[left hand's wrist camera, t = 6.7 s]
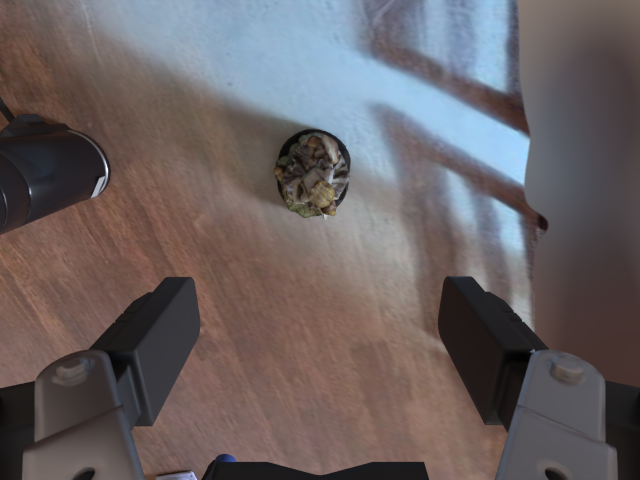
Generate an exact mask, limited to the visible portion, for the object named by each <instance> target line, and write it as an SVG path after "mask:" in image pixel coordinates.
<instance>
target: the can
mask: <svg viewBox="0 0 640 480" xmlns="http://www.w3.org/2000/svg"><path fill="white" fill-rule="evenodd" d="M215 460H216V461H217V462H236V460H235V458H234V457H233V456H231V455H228V454H221V455H219V456H217V457H216V459H215Z"/></svg>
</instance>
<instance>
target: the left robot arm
mask: <svg viewBox="0 0 640 480" xmlns="http://www.w3.org/2000/svg"><path fill="white" fill-rule="evenodd" d="M0 111H1V112H2V113H3V115H4V116H5V117H6V119H7V120H8V121H9V123H10V124H9V125H7V126H6V127H5V128H4V129H3V130H1V131H0V235H2V234H4V233H7V232H9V231H11V230H14V229H16V228H19V227H21V226H23V225H26V224H28V223H31V222H33V221H35V220H38V219H40V218H43V217H45V216H47V215H50V214H52V213H55V212H57V211H60V210H62V209H64V208H67V207H69V206H72V205H74V204H76V203H79V202H81V201H84V200H87V199H90V198H93V197H95V196H97V195H99V194H100V193H102V192H103V191H104V190H105V189H106V187H107V185H108V183H109V180H110V165H109V161H108V159H107V156H106V154H105V153H104V151H103V150H102V148H101V147H100V146H99V145H98V144H97V143H96V142H95V141H94V140H93V139H92V138H90V137H89V136H87V135H85V134H83V133H81V132H78V131H75V130H71V129H70V128H69V127H68V126H67V125H66V124H52V125H47V124H46V123H45V122H44V121H43V120H42V119H41V118H40V117H39V116H38V115H37V114H26V115H18V116H17V117H16V118H15V117H14V116H13V115H12V113H11V112H10V111H9V109H8V108H7V107H6V105H5V104H4V102H3V101H2V99H1V98H0ZM115 321H116V322H115V323H113V324H112V325H111V326H110V327H109V328H108V329H107V330H106V331H105V332H104V333H103V334H102V335H101V336H100V338H99V339H98V340H97V341H96V342H95V343H94V344H93V345H92V346H91V347H90V348H89V349H88V350H83V351H78V352H75V353H71V354H69V355H66V356H64V357H62V358H60V359H58V360H56V361H54V362H53V363H51V364H50V365H48V366H47V367H46V368H45V369H43V370H42V372H41V373H40V374H39V375H38V376H37V378H36V380H35V381H33V382H28V383H23V384H18V385H14V386H9V387H4V388H0V480H145V476H144V473H143V469H142V466H141V463H140V459H139V456H138V452H137V449H136V445H135V442H134V439H133V435H132V432H131V431H132V429H133V427H134V426H153V424H154V422H155V420H156V418H157V416H158V414H159V412H160V410H161V408H162V406H163V404H164V402H165V400H166V399H167V397H168V395H169V393H170V391H171V389H172V387H173V385H174V383H175V381H176V379H177V377H178V375H179V373H180V371H181V370H182V368H183V366H184V364H185V362H186V360H187V358H188V356H189V354H190V352H191V350H192V348H193V346H194V344H195V343H196V341H197V338H198V336H199V331H200V315H199V308H198V302H197V295H196V288H195V283H194V280H193V278H192V277H166V278H165V279H164V280H163V281H162V282H161V283H160V284H159V286H158V287H157V288H156V289H155V290H154V291H153V292H148V293H147V294H145V295H143V296H142V297H140V298H138V299H136V300H135V301H133V302H132V303H131V304H130V305H129V307H128V308H127V309H126V310H125V311H124V314H121V315H120V316H119V317H118V318H117V319H116V320H115ZM438 330H439V334H440V337H441V340H442V342H443V344H444V345H445V347H446V349H447V351H448V353H449V355H450V357H451V359H452V361H453V363H454V365H455V367H456V369H457V371H458V373H459V375H460V377H461V379H462V381H463V383H464V385H465V387H466V388H467V390H468V392H469V394H470V396H471V398H472V400H473V402H474V404H475V406H476V408H477V410H478V412H479V414H480V416H481V418H482V420H483V422H484V424H485V425H503V426H504V427H505V429H506V431H507V433H508V435H507V439H506V442H505V445H504V449H503V452H502V456H501V459H500V463H499V466H498V469H497V473H496V476H495V480H640V388H638V387H633V386H629V385H624V384H619V383H615V382H610V381H605V380H604V378H603V376H602V375H601V374H600V373H599V372H598V371H597V369H595V368H594V367H593V366H592V365H590V364H589V363H587V362H586V361H584V360H582V359H580V358H578V357H576V356H574V355H571V354H569V353H565V352H562V351H557V350H550V349H549V348H548V347H547V346H546V345H545V344H544V343H543V342H542V341H541V340H540V339H539V338H538V336H537V335H536V334H535V333H534V332H533V331H532V330H531V329H530V328H529V327H528V326H527V325H526V324H525V322H522V319H521V318H520V317H519V316H518V315H517V314H516V313H514V311H513V309H512V308H511V307H510V306H509V305H508V304H507V303H506V302H505V301H504V300H502V299H501V298H499V297H497V296H496V295H494V294H492V293H491V292H485V291H484V290H483V289H482V288H481V286H480V285H479V284H478V283H477V282H476V281H475V279H474V278H473V277H470V276H447V277H446V278H445V280H444V283H443V289H442V295H441V302H440V309H439V316H438ZM211 480H429V478H428V474H427V471H426V467H425V464H424V462H371V463H367V464H363V465H360V466H356V467H352V468H348V469H345V470H341V471H337V472H333V473H330V474H326V475H314V474H310V473H307V472H303V471H299V470H295V469H292V468H288V467H284V466H280V465H277V464H273V463H269V462H216V464H215V467H214V471H213V474H212V478H211Z"/></svg>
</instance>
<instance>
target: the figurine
mask: <svg viewBox="0 0 640 480" xmlns="http://www.w3.org/2000/svg"><path fill="white" fill-rule="evenodd" d="M349 174H350V156H349V153H348V151H347V149H346V146H345V145H344V144H343V143H342V142H341V141H340V140H339V139H338V138H337V137H335V136H334V135H332V134H330V133H328V132H326V131H322V130H316V129H308V130H304V131H301V132H299V133H297V134H295V135H294V136H292V137H291V138H289V139H288V140H287V141H286V143H285V144H284V145H283V147H282V149H281V151H280V154H279V159H278V161H277V162H276V168H275V169H274V175H275V176H276V179H277V183H278V190H279V193H280V195H281V197H282V199H283V200H284V202H285V203H286V204H287V206H288V209H289V210H290V211H294V212H296V213H298V214H299V215H301V216H302V217H303V218H309V217H310V216H320V215H322V216H323V218H324V220H326V219H327V215H332V216H334V215H336V208H337V206H338V205H339V204H340V203H341V202H342V200H343V199H344V197H345V195H346V192H347V190H348V181H349Z"/></svg>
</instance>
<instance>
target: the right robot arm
mask: <svg viewBox="0 0 640 480" xmlns="http://www.w3.org/2000/svg"><path fill="white" fill-rule="evenodd" d="M216 462H217V461H216V460H213V461H212V462H211V463H210V465H209V466H208V468H207V470H206V472H205V474H204V476H203V478H202V479H201V480H211V478H212V474H213V471H214V467H215V464H216ZM156 480H197V479H196V477H195V475H194V473H193V472H192V471H188V472H182V473H176V474H169V475H163V476H157V477H156Z"/></svg>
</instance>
